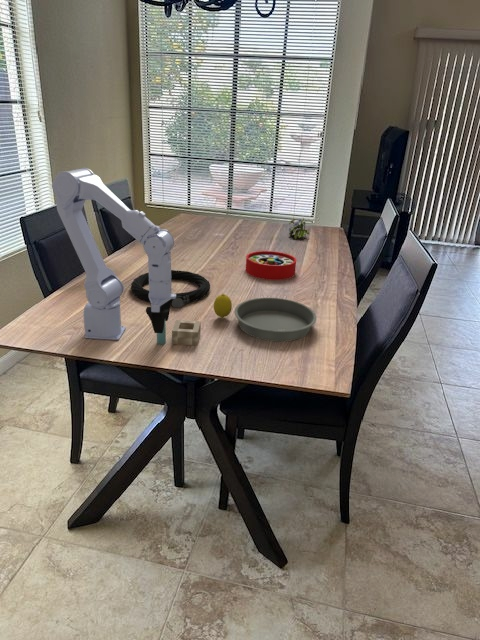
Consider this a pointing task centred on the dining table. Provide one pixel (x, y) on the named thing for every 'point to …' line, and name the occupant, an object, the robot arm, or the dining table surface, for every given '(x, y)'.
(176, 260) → the dining table surface
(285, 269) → the toy clock
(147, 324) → the dining table surface
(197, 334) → the beige socket block
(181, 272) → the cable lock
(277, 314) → the cake pan
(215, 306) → the lemon
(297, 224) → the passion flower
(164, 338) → the peg
